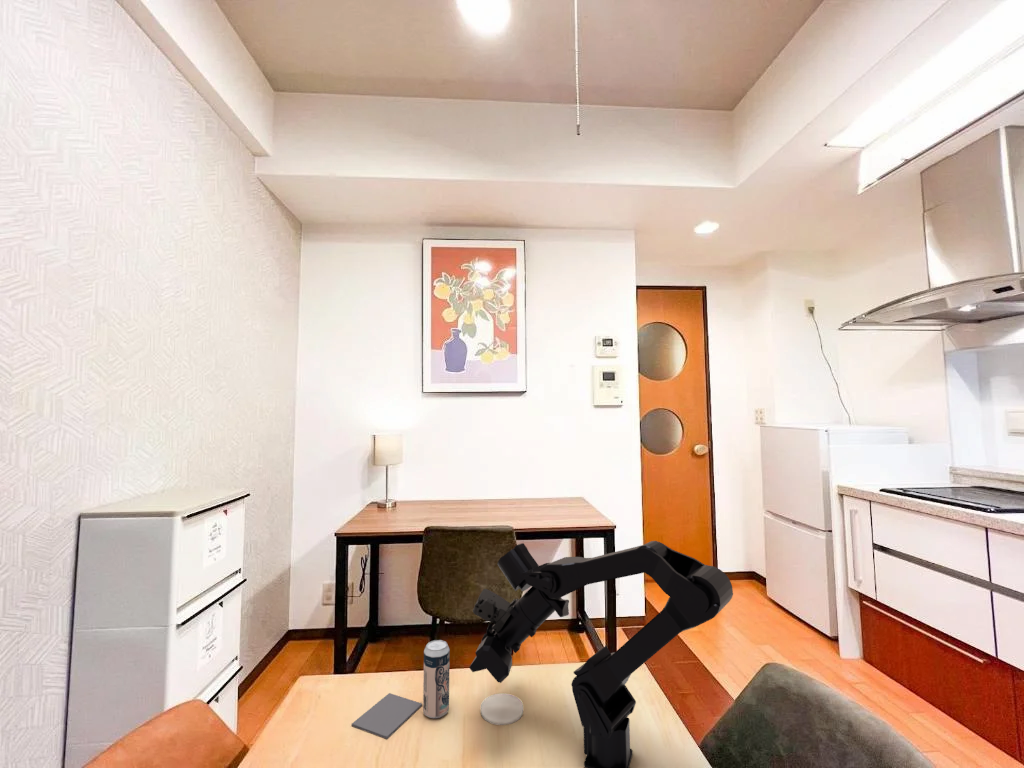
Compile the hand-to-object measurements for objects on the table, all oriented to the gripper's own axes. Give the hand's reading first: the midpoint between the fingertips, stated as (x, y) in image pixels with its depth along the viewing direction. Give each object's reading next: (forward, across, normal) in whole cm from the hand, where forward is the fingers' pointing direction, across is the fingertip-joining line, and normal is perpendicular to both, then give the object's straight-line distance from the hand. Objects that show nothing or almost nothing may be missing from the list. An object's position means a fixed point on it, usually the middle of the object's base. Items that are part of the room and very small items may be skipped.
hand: (471, 669), depth 83 cm
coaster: (+2, -2, +10) cm, 10 cm away
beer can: (+11, 0, +1) cm, 11 cm away
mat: (+16, +3, -5) cm, 17 cm away
